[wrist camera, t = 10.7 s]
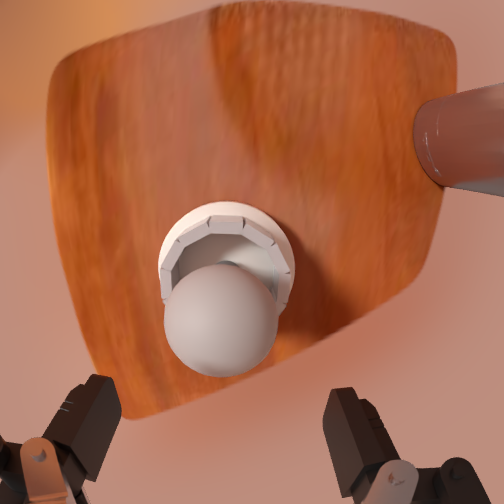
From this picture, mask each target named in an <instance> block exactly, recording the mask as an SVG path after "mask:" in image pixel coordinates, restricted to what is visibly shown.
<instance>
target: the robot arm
mask: <svg viewBox="0 0 504 504" xmlns="http://www.w3.org/2000/svg"><path fill="white" fill-rule="evenodd" d="M413 138H414V145H415V150H416V153H417V156H418V159H419V161H420V163H421V166H422V167H423V169H424V170H425V172H426V173H427V175H428V176H429V177H430V178H431V179H432V180H433V181H435V182H436V183H438V184H439V185H442V186H445V187H450V188H457V189H463V190H469V191H474V192H480V193H486V194H491V195H497V196H501V197H504V83H499V84H495V85H490V86H485V87H481V88H477V89H472V90H469V91H464V92H460V93H456V94H452V95H448V96H444V97H441V98H437V99H434V100H431V101H428V102H427V103H425V104H424V105H423V106H422V107H421V108H420V110H419V111H418V113H417V116H416V118H415V123H414V132H413ZM121 412H122V410H121V404H120V401H119V397H118V394H117V391H116V388H115V384H114V381H113V379H112V378H111V377H107V376H102V375H97V374H92V375H91V376H90V377H89V379H88V380H87V382H86V383H85V385H83V384H80V385H78V386H77V387H75V388H74V389H73V390H71V391H70V393H69V394H68V396H67V397H66V399H65V402H63V404H62V405H61V407H60V410H58V411H57V413H56V415H55V416H54V418H53V419H52V421H51V423H50V424H49V426H48V427H47V429H46V431H45V432H44V434H43V436H42V437H34V438H31V439H29V440H27V441H26V442H25V443H24V444H17V443H11V442H5V441H4V439H3V438H2V437H1V435H0V478H1V479H2V481H1V483H0V504H91V503H90V501H89V499H88V496H87V494H86V492H85V489H84V487H83V482H84V480H85V479H87V480H90V481H93V482H96V479H97V476H98V474H99V471H100V468H101V466H102V463H103V461H104V458H105V456H106V453H107V451H108V448H109V445H110V443H111V441H112V438H113V436H114V433H115V431H116V428H117V426H118V424H119V421H120V418H121ZM323 431H324V434H325V438H326V441H327V444H328V448H329V452H330V456H331V459H332V463H333V466H334V470H335V473H336V477H337V481H338V484H339V488H340V492H341V495H342V498H345V497H350V496H352V497H353V500H354V504H491V502H490V500H489V498H488V496H487V494H486V492H485V490H484V488H483V486H482V484H481V482H480V480H479V478H478V476H477V474H476V472H475V470H474V468H473V467H472V465H471V464H470V463H469V462H468V461H467V460H465V459H463V458H459V457H456V458H451V459H449V460H447V461H446V462H445V463H444V464H443V465H442V466H441V467H439V468H423V469H422V468H415V467H414V465H413V464H411V463H410V462H407V461H404V460H401V459H400V457H399V455H398V453H397V451H396V449H395V447H394V445H393V443H392V440H391V438H390V436H389V434H388V432H387V430H386V428H384V424H383V422H382V420H381V419H380V416H379V414H378V412H377V410H376V408H375V407H374V406H373V405H372V404H371V403H370V402H369V401H367V400H366V399H358V397H357V394H356V392H355V390H354V389H353V388H352V387H347V388H337V389H332V390H331V392H330V395H329V398H328V402H327V405H326V409H325V412H324V415H323Z"/></svg>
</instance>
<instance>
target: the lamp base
mask: <svg viewBox="0 0 504 504" xmlns="http://www.w3.org/2000/svg"><path fill="white" fill-rule="evenodd" d="M224 260H228V261H232V262H234V263H236V264H237V265H238V266H239V267H240V268H242V269H244V270H246V271H248V272H250V273H251V274H253V275H255V276H256V277H257V278H258V279H259V280H260V281H261V282H262V283H263V284H264V285H265V286H266V287H267V289H268V290H269V291H270V293H271V294H272V297H273V299H274V301H275V304H276V308H277V313H278V317H279V315H280V314H281V313H282V311H283V310H284V309H285V307H286V306H287V305H286V303H288V298H289V294H290V292H291V289H292V286H293V282H294V276H295V262H294V255H293V251H292V248H291V246H290V243H289V241H288V239H287V237H286V236H285V234H284V232H283V231H282V230H281V229H280V227H279V226H278V225H277V223H276V222H275V221H274V220H273V219H272V218H271V217H270V216H269V215H267V214H266V213H265V212H263V211H262V210H260V209H258V208H256V207H255V206H252V205H249V204H247V203H243V202H239V201H230V200H224V201H215V202H210V203H207V204H204V205H201V206H199V207H197V208H195V209H193V210H192V211H190V212H189V213H187V214H186V215H185V216H184V217H183V218H181V219H180V220H179V221H178V222H177V223H176V224H175V225H174V226H173V228H172V229H171V230H170V232H169V233H168V235H167V236H166V238H165V240H164V242H163V244H162V248H161V251H160V256H159V266H158V270H159V278H160V282H161V297H162V298H164V299H163V302H164V304H165V306H166V303H167V300H168V298H169V296H170V294H171V292H172V291H173V289H174V287H175V286H176V285H177V284H178V283H179V282H180V280H181V279H182V278H184V277H185V276H187V275H188V274H190V273H191V272H193V271H195V270H197V269H200V268H202V267H205V266H210V265H215V264H216V263H218V262H220V261H224Z"/></svg>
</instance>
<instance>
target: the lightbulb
mask: <svg viewBox="0 0 504 504" xmlns="http://www.w3.org/2000/svg"><path fill="white" fill-rule="evenodd" d="M164 327H165V333H166V337H167V340H168V342H169V345H170V347H171V348H172V350H173V351H174V353H175V354H176V355H177V357H178V358H179V359H180V360H181V361H182V362H183V363H184V364H186V365H187V366H188V367H190V368H191V369H193V370H195V371H197V372H199V373H202V374H205V375H208V376H214V377H230V376H236V375H239V374H242V373H245V372H247V371H248V370H250V369H252V368H254V367H255V366H256V365H258V364H259V363H260V362H261V361H262V360H263V359H264V358H265V357H266V356H267V355H268V353H269V351H270V349H271V347H272V346H273V344H274V342H275V338H276V335H277V330H278V313H277V308H276V304H275V301H274V299H273V297H272V294H271V293H270V291H269V290H268V289H267V287H266V286H265V285H264V284H263V283H262V282H261V281H260V280H259V279H258V278H257V277H256V276H255V275H253V274H251V273H250V272H248V271H246V270H244V269H242V268H240V267H239V266H238V265H237V264H236V263H234V262H232V261H228V260H224V261H220V262H218V263H216V264H215V265H210V266H205V267H202V268H200V269H197V270H195V271H193V272H191V273H190V274H188V275H187V276H185V277H184V278H182V279H181V280H180V282H179V283H178V284H177V285H176V286H175V287H174V289H173V291H172V292H171V294H170V296H169V298H168V300H167V303H166V307H165V314H164Z"/></svg>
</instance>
